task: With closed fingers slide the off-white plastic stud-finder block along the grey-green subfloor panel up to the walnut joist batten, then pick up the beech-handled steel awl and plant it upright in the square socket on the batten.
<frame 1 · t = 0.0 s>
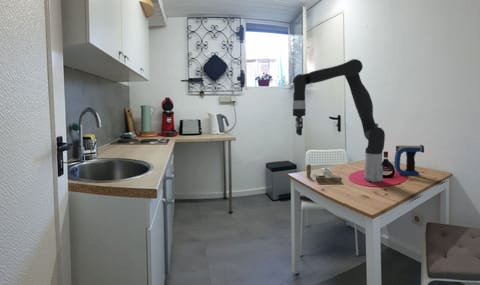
hand: (299, 134, 164), 29 cm above the table, fingers open, 8 cm apart
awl: (308, 178, 173), on the table
joist batten: (328, 182, 162), resting on subfloor panel
subfloor panel: (325, 179, 170), on the table
handheld scanner: (407, 174, 176), on the table
stud finder block: (326, 175, 175), point 1 cm above the table, touching subfloor panel
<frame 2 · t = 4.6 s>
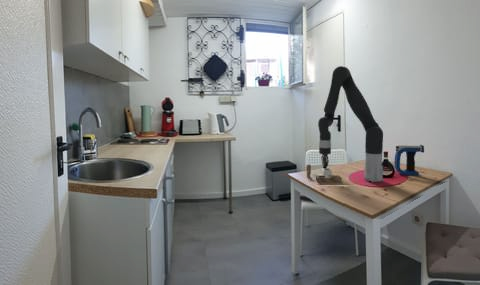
hand: (324, 171, 180), 2 cm above the table, fingers closed
stud finder block: (326, 175, 175), point 1 cm above the table, touching gripper, subfloor panel
everything else where it was.
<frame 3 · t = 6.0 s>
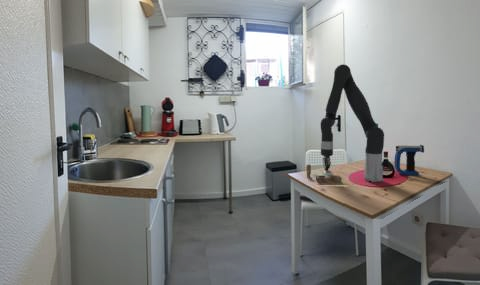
hand: (326, 174, 174), 2 cm above the table, fingers closed
stud finder block: (327, 177, 169), point 1 cm above the table, touching gripper, subfloor panel
everything else where it was.
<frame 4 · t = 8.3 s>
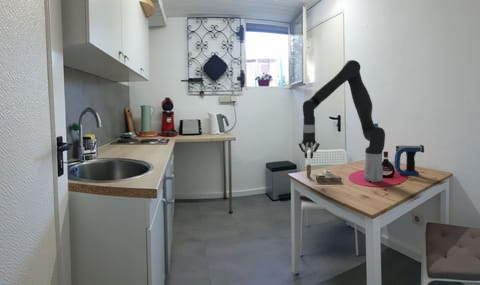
hand: (308, 158, 171), 13 cm above the table, fingers closed
stud finder block: (327, 178, 169), point 1 cm above the table, touching subfloor panel
everything else where it was.
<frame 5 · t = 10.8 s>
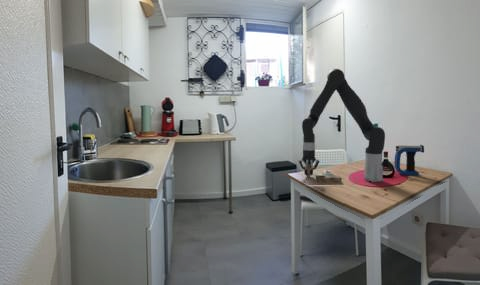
hand: (308, 175, 173), 2 cm above the table, fingers closed on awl, 2 cm apart
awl: (308, 178, 173), on the table, touching gripper
everything else where it was.
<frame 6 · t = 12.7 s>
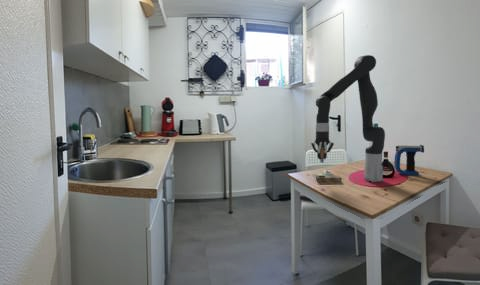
hand: (322, 158, 160), 15 cm above the table, fingers closed on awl, 2 cm apart
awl: (321, 162, 160), point 13 cm above the table, touching gripper
everything else where it was.
when the fingers open (5 cm above the table, at t = 14.8 s): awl drops 1 cm, resting on subfloor panel.
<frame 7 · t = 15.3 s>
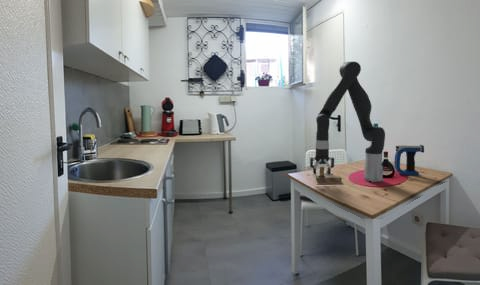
hand: (321, 174, 161), 5 cm above the table, fingers open, 7 cm apart
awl: (321, 181, 162), point 1 cm above the table, touching subfloor panel
everything else where it was.
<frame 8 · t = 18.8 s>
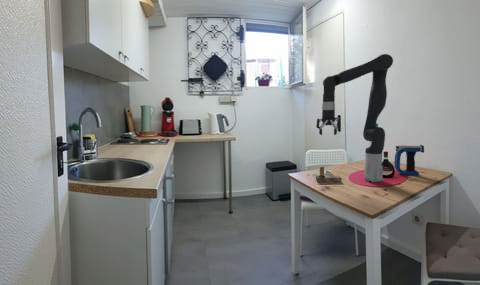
hand: (328, 134, 169), 28 cm above the table, fingers open, 8 cm apart
nothing on the table moved.
at the end: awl 0.0 cm from the target spot on the joist batten, point 1.0 cm above the joist batten's base; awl tilted 1°; stud finder block 0.8 cm from the target spot, point 1.0 cm above the table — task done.
